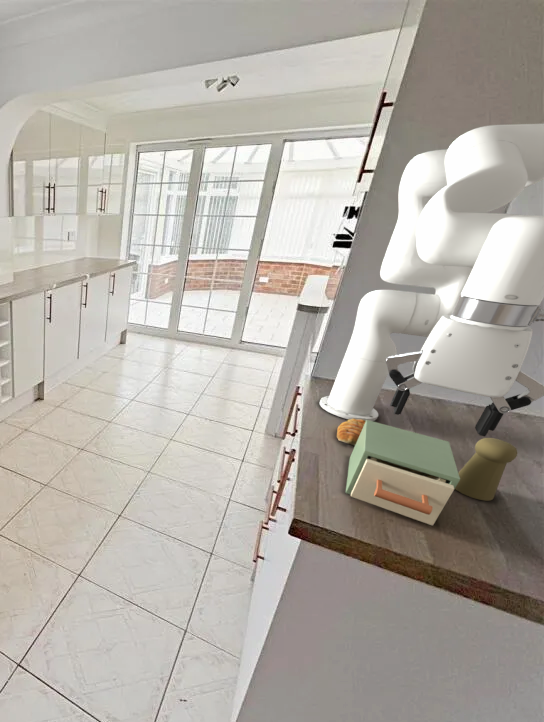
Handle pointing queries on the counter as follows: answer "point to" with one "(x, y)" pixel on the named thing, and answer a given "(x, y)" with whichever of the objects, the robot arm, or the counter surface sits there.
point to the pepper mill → (485, 468)
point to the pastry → (350, 431)
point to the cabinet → (402, 452)
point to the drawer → (402, 490)
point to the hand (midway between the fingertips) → (436, 421)
